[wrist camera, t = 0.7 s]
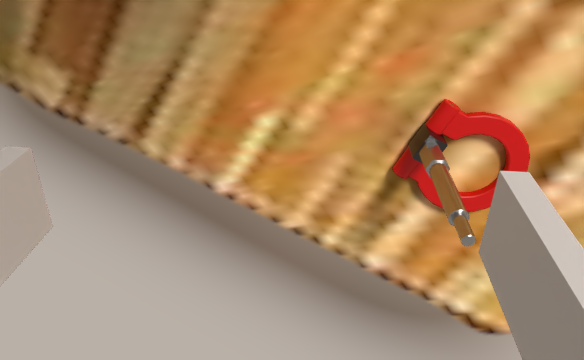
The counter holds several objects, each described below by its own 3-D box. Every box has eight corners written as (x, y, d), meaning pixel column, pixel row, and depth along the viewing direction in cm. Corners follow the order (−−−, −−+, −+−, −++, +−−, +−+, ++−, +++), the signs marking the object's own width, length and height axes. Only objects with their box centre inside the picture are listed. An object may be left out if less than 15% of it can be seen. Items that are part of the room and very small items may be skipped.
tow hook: (548, 141, 40) (449, 84, 38) (648, 250, 28) (510, 176, 26) (476, 219, 44) (383, 172, 42) (535, 343, 32) (410, 286, 30)
